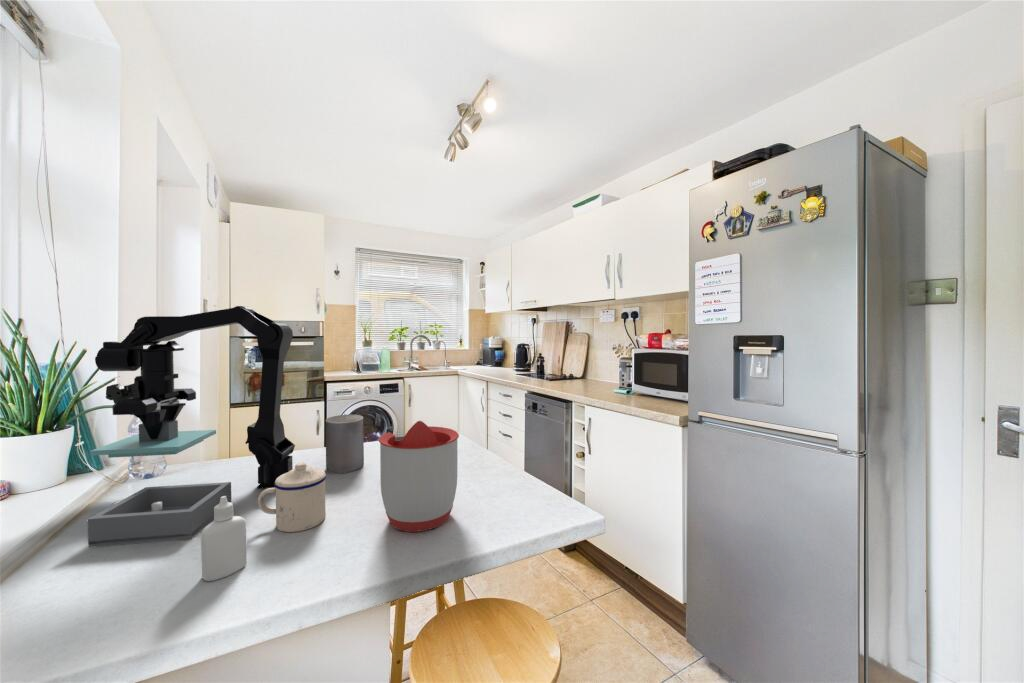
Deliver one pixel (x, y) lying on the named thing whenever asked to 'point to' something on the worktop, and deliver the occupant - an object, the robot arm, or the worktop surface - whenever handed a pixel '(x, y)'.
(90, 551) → the worktop surface
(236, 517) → the eye dropper bottle
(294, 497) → the teacup with lid
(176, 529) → the tub
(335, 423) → the pillar candle
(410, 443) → the citrus juicer
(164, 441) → the lid
